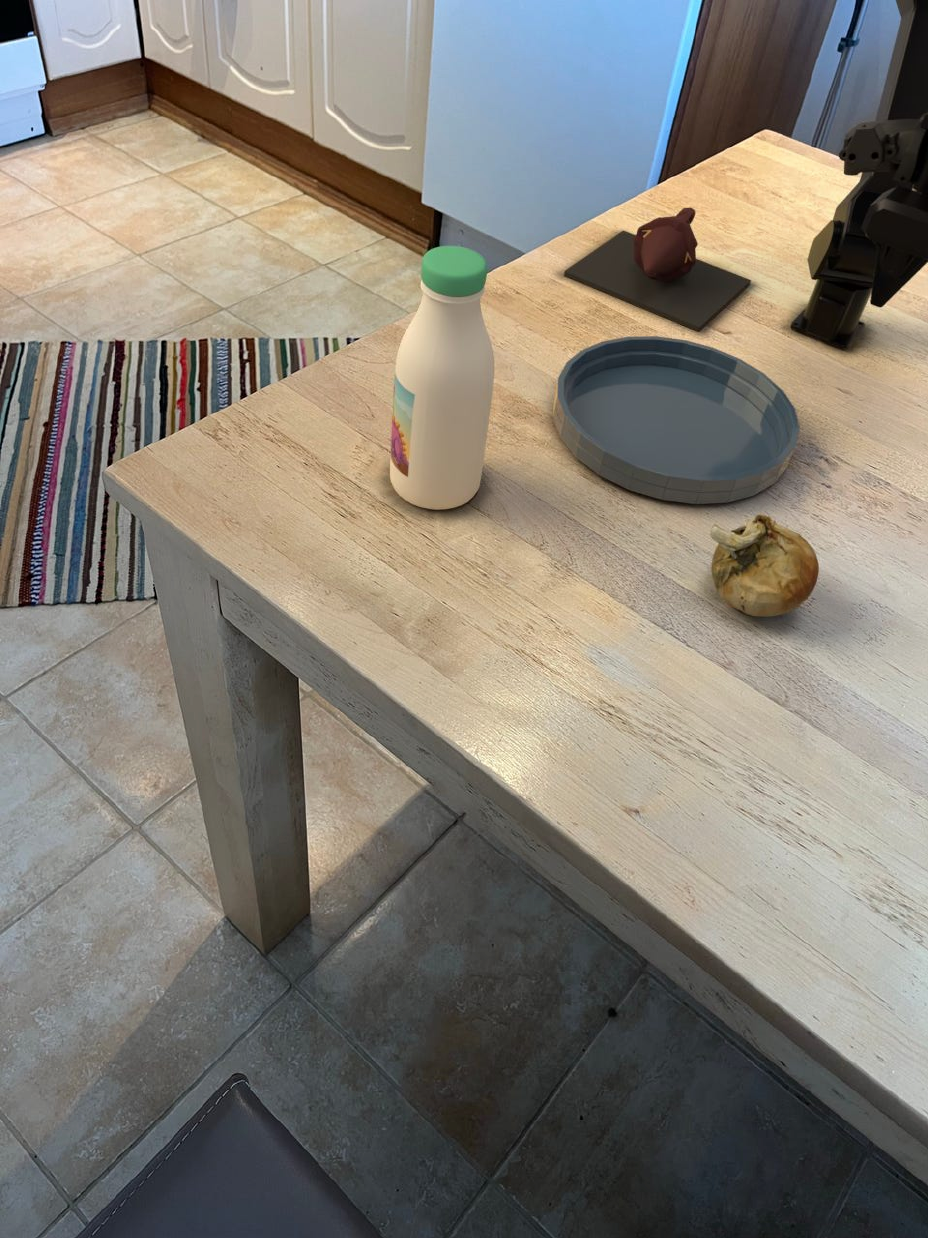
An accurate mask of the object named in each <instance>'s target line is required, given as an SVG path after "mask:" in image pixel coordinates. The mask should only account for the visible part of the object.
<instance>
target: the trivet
mask: <svg viewBox="0 0 928 1238" xmlns="http://www.w3.org/2000/svg"><path fill="white" fill-rule="evenodd" d="M635 235H636V234H634V233H631V232H629V231H626V230H622V231H620V232H619V233H617V234H616V235H615V236H612V237H611V238H610V239H609V240H607V241H606V242H604V243H602V244H601V245H599V246H598V247H597V248H595V249H594V250H592V251H591V252H590V253H588V254H587V255H586V256H584V257H582V258H581V259H580V260H578V261H577V262H575V263H574V264H572V265H571V266H569V267H568V268H567V269H565V270H564V272H563V276H564V277H566V278H569V279H571V280H573V281H576V282H578V283H581V284H583V285H585V286H588V287H591V288H593V289H595V290H597V291H600V292H602V293H605V294H608V295H609V296H612V297H614V298H617V299H619V300H622V301H623V302H626V303H628V304H630V305H634V306H635V307H638V308H640V309H642V310H645V311H648V312H650V313H653V314H654V315H657V316H660V317H662V318H665V319H667V320H669V321H672V322H674V323H676V324H678V325H681V326H683V327H686V328H689V329H691V330H692V331H695V332H700V331H701V330H702V329H703V328H704V327H705V326H707V325H708V324H709V323H710V322H711V321H712V320H713V319H714V318H716V317H717V316H718V315H719V314H720V313H721V312H722V311H723V310H724V309H725V308H726V307H727V306H729V304H731V303H732V302H733V301H734V300H736V298H737V297H738V296H739V295H740V294H741V293H743V292H744V291H745V290H746V289H747V288H749V286H750V285H751V283H752V279H750V278H746V277H744V276H741V275H738V274H736V273H734V272H732V271H728V270H726V269H724V268H722V267H718V266H716V265H714V264H711V263H708V262H706V261H703V260H701V259H698V258H696V263H695V265H694V266H693V267H692V268H691V271H690V272H689V273H688V274H685V275H683V276H681V277H680V278H678V279H677V280H675V281H673V282H670V283H669V282H664V281H660V280H656V279H651V278H648V277H647V275H646V274H645V273H644V272H643V270H642V269H641V268H640V267H639V266H638V265H637V264H636V262H635V261H634V240H633V239H634V236H635Z"/></svg>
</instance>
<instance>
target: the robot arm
mask: <svg viewBox="0 0 928 1238" xmlns="http://www.w3.org/2000/svg"><path fill="white" fill-rule="evenodd" d="M895 3H896V6H897V10H898V13H899V16H900V22H899V26H898V30H897V34H896V37H895V42H894V45H893V49H892V54H891V57H890V61H889V66H888V70H887V74H886V77H885V81H884V85H883V89H882V93H881V97H880V100H879V105H878V108H877V112H876V115H875V120H874V121H866V122H861V123H859V124H857V125H855V126H854V127H853V128H851V129H850V130H849V131H848V132H847V133H846V134H844V139H843V147H842V149H841V150H840V151H839V153H838V158H839V160H840V161H842V162H843V175H845V176H848V177H849V176H850V177H851V176H852V177H853V176H858V175H860V174H861V175H860V179H859V182H858V183H856V185H854V187H853V188H852V189H851V191H850V192H849V193H847V195H846V196H845V197H844V199H842V200H841V201H840V203H839V204H838V205H837V206H836V208H835V211H834V215H833V218H832V220H830V221H828V223H827V224H826V225H825V226H824V227H823V228H822V230H821V231H819V233H817V234H816V236H815V237H814V238H813V239H812V241H811V245H810V249H809V252H808V255H807V256H808V257H807V265H808V269H809V270H808V271H809V275H810V279H811V280H812V281H816V282H815V284H814V287H813V289H812V292H811V294H810V297H809V300H808V301H807V305H806V307H805V308H803V310H802V311H801V312H800V314H798V315H797V316H796V317H795V319H793V320H792V322H791V324H790V326H789V327H790V329H792V330H793V331H796V332H799V333H801V334H803V335H805V336H809V337H811V338H814V339H816V340H819V341H821V342H823V343H826V344H828V345H830V346H833V347H836V348H838V349H841V350H847V349H848V348H849V347H850V345H852V343H853V342H854V341H855V339H856V338H857V337H858V336H859V335H860V333H862V331H863V330H864V329H865V326H866V323H865V322H863V321H861V318H862V316H863V313H864V311H865V309H866V306H867V304H868V302H869V304H870V305H872V306H874V307H877V308H879V309H881V308H883V307H884V306H885V305H886V304H887V303H888V302H889V301H890V300H891V299H892V298H893V297H894V296H895V295H896V294H897V293H898V292H899V291H900V290H901V289H902V288H903V287H905V285H906V284H907V283H909V281H910V280H911V279H912V278H914V277H915V275H917V274H918V272H920V271H921V270H922V269H923V268H924V267H925V266H926V265H927V264H928V0H895ZM869 299H870V300H869Z"/></svg>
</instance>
